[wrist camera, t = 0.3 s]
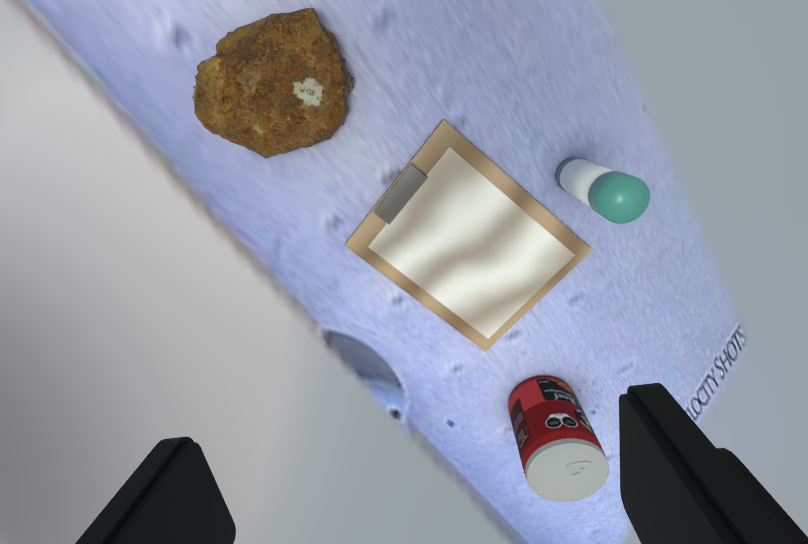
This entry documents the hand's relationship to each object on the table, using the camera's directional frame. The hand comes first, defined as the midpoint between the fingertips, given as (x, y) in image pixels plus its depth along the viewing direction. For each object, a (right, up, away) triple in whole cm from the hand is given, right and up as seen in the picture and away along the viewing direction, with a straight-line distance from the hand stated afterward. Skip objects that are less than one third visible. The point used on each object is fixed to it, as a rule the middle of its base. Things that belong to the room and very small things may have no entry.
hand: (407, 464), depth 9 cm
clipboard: (+6, +7, +35) cm, 37 cm away
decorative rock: (-12, +21, +31) cm, 40 cm away
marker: (+16, +14, +32) cm, 38 cm away
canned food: (+16, -11, +42) cm, 47 cm away
